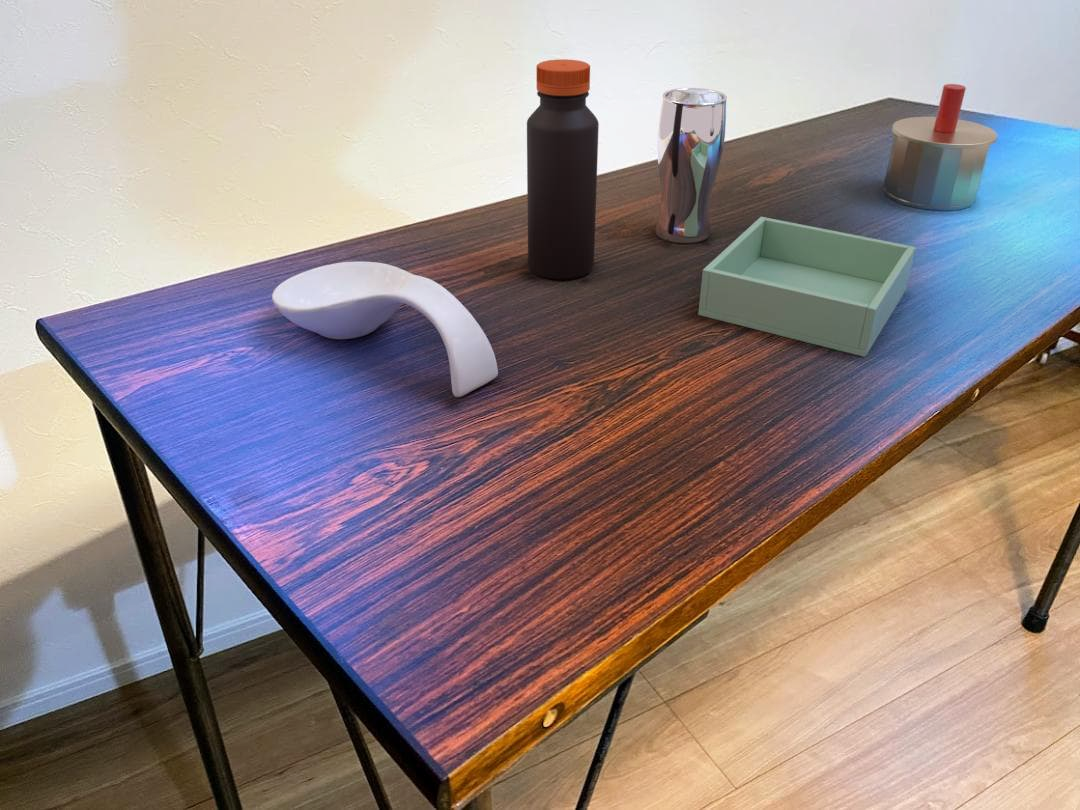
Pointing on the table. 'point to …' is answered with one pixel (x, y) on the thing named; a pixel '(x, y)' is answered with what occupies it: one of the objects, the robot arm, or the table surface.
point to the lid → (946, 125)
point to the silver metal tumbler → (689, 161)
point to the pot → (934, 175)
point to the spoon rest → (386, 312)
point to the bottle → (562, 172)
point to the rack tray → (807, 284)
